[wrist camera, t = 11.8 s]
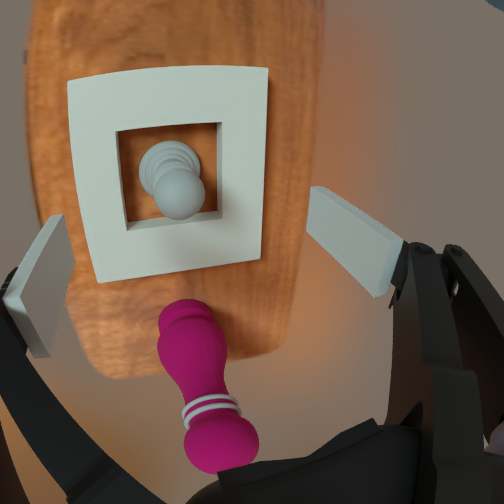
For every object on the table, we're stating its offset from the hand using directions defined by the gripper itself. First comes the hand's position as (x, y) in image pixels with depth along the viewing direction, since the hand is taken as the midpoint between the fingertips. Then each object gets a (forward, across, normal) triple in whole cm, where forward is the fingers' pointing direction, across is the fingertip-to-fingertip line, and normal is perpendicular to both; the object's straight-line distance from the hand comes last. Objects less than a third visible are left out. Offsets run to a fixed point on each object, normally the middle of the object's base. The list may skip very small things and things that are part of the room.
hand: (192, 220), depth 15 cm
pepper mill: (+12, 0, -17) cm, 21 cm away
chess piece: (+12, 0, 0) cm, 12 cm away
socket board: (+12, 0, 0) cm, 12 cm away
